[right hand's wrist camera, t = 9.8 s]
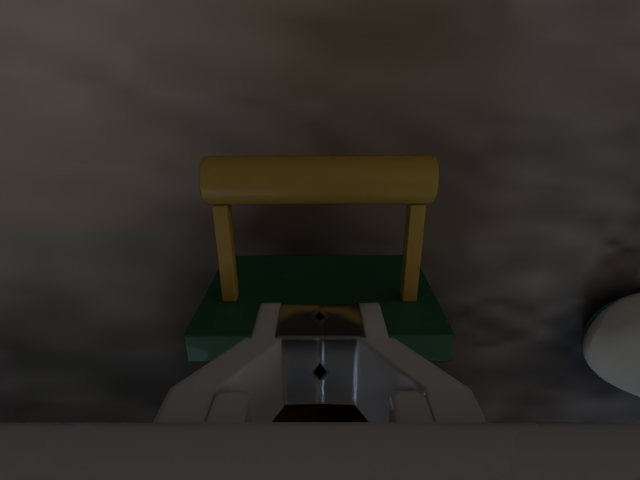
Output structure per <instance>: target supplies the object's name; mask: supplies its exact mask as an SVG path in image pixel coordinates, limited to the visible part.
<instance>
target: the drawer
mask: <svg viewBox="0 0 640 480" xmlns="http://www.w3.org/2000/svg"><path fill="white" fill-rule="evenodd" d="M438 183H439V170H438V164H437V160H436V158H435V157H434V156H432V155H410V156H205V157H203V158H202V160H201V163H200V168H199V187H200V192H201V196H202V199H203V201H204V202H205V203H206V204H213V206H212V210H213V219H214V228H215V237H216V246H217V255H218V264H219V269H218V271H217V273H216V275H215V277H214V279H213V281H212V283H211V285H210V287H209V289H208V290H207V292H206V294H205V296H204V298H203V300H202V302H201V304H200V306H199V308H198V310H197V312H196V313H195V315H194V317H193V319H192V321H191V323H190V325H189V327H188V329H187V331H186V333H185V334H184V341H185V347H186V354H187V360H188V361H189V362H210V361H212V360H213V359H215V358H216V357H218V356H219V355H221V354H222V353H224V352H225V351H227V350H228V349H230V348H231V347H233V346H234V345H236V344H237V343H239V342H240V341H242V340H243V339H245V338H251V336H252V332H253V329H254V325H255V321H256V318H257V314H258V311H259V307H260V305H261V304H262V303H281V304H282V303H310V304H338V303H379V304H380V308H381V311H382V315H383V318H384V322H385V325H386V329H387V332H388V336H389V338H395V339H397V340H398V341H400V342H401V343H403V344H404V345H406V346H407V347H409V348H410V349H412V350H413V351H415V352H416V353H418V354H419V355H421V356H422V357H424V358H425V359H427V360H428V361H451V360H452V354H453V347H454V340H455V334H454V332H453V330H452V328H451V326H450V324H449V322H448V320H447V318H446V316H445V314H444V313H443V311H442V309H441V307H440V305H439V303H438V301H437V299H436V297H435V295H434V293H433V291H432V289H431V287H430V285H429V284H428V282H427V280H426V278H425V276H424V274H423V272H422V270H421V268H420V262H421V252H422V242H423V232H424V222H425V212H426V204H430V203H433V202H434V200H435V198H436V195H437V191H438ZM231 204H407V216H406V228H405V240H404V252H403V255H369V256H235V247H234V236H233V226H232V215H231ZM272 422H368V421H367V419H366V418H365V417H364V416H363V414H362V413H361V412H360V411H359V409H358V408H357V407H356V405H346V404H294V405H284V407H283V409H282V410H281V411H280V412H279V414H278V415H277V416H276V417H275V418H274V420H273V421H272Z"/></svg>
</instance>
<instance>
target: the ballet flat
mask: <svg viewBox="0 0 640 480" xmlns="http://www.w3.org/2000/svg"><path fill="white" fill-rule="evenodd" d="M583 354H584V357H585V360H586V362H587V363H588V365H589V367H590V368H591V369H592V370H593V371H594V372H595V373H596V374H597V375H598V376H600V377H601V378H602V379H603V380H605V381H606V382H608V383H610V384H612V385H614V386H616V387H617V388H620V389H622V390H624V391H626V392H628V393H631V394H633V395H636V396H638V397H640V292H639V293H635V294H630V295H627V296H624V297H621V298H619V299H616V300H614V301H612V302H610V303H608V304H606V305H605V306H603V307H601V308H600V309H599V310H598V311H596V312H595V313H594V314H593V315H592V317H591V318H590V319H589V320H588V322H587V324H586V326H585V329H584V334H583Z"/></svg>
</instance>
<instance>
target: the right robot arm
mask: <svg viewBox="0 0 640 480" xmlns="http://www.w3.org/2000/svg"><path fill="white" fill-rule="evenodd" d="M294 404H346V405H356V407H357V408H358V409H359V411H360V412H361V413H362V414H363V416H364V417H365V418H366V419H367V421H368V422H272V421H273V420H274V418H275V417H276V416H277V415H278V414H279V412H280V411H281V410H282V409H283V407H284V405H294ZM0 480H640V422H487V421H486V419H485V417H484V415H483V413H482V411H481V409H480V407H479V405H478V403H477V401H476V399H475V397H474V395H473V393H472V391H471V389H470V388H468V387H467V386H465V385H464V384H462V383H461V382H459V381H458V380H456V379H455V378H453V377H452V376H450V375H449V374H447V373H446V372H444V371H443V370H441V369H440V368H438V367H437V366H435V365H434V364H432V363H431V362H430V361H428V360H427V359H425V358H424V357H422V356H421V355H419V354H418V353H416V352H415V351H413V350H412V349H410V348H409V347H407V346H406V345H404V344H403V343H401V342H400V341H398V340H397V339H395V338H389V336H388V332H387V329H386V325H385V322H384V318H383V315H382V311H381V308H380V304H379V303H338V304H310V303H282V304H281V303H262V304H261V305H260V307H259V311H258V314H257V318H256V321H255V325H254V329H253V332H252V336H251V338H245V339H243V340H242V341H240V342H239V343H237V344H236V345H234V346H233V347H231V348H230V349H228V350H227V351H225V352H224V353H222V354H221V355H219V356H218V357H216V358H215V359H213V360H212V361H210V362H209V363H207V364H206V365H204V366H203V367H201V368H200V369H198V370H197V371H195V372H194V373H192V374H191V375H190V376H188V377H187V378H185V379H184V380H182V381H181V382H179V383H178V384H176V385H175V386H173V387H172V388H170V389H169V391H168V393H167V395H166V397H165V399H164V401H163V403H162V405H161V407H160V409H159V411H158V413H157V415H156V417H155V419H154V421H153V422H0Z"/></svg>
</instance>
